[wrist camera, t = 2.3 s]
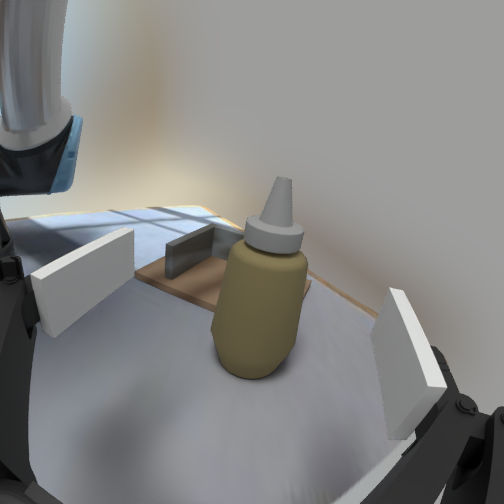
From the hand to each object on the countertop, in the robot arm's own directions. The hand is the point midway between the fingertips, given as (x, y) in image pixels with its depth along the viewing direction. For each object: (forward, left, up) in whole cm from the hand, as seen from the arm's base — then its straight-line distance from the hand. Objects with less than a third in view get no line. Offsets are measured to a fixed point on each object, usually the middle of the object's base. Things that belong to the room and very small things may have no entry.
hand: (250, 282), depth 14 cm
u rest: (-11, +23, -14) cm, 29 cm away
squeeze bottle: (-2, +10, -14) cm, 17 cm away
